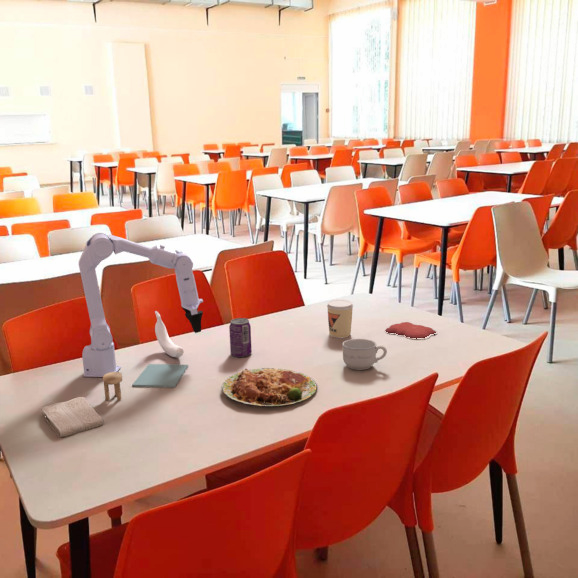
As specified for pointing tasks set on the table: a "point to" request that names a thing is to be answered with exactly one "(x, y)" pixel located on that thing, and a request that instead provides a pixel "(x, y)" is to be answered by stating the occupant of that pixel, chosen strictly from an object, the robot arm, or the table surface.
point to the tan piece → (110, 380)
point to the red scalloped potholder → (410, 330)
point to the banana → (166, 339)
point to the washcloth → (71, 416)
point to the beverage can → (240, 337)
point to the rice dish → (268, 386)
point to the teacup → (361, 353)
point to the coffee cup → (340, 318)
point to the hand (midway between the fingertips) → (196, 328)
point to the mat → (160, 375)
